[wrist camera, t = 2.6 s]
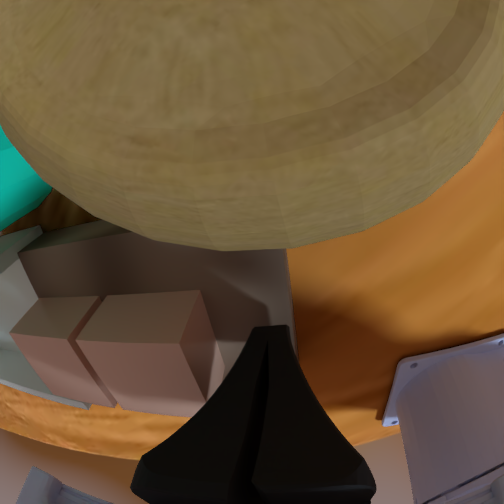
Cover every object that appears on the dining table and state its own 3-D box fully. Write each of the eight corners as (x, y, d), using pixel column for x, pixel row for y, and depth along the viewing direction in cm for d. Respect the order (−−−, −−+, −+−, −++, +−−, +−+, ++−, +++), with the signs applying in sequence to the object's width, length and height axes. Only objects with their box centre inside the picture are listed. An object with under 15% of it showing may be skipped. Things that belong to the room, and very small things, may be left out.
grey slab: (278, 191, 12) (277, 212, 10) (299, 363, 17) (299, 396, 14) (43, 233, 14) (16, 252, 12) (107, 362, 19) (94, 387, 16)
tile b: (99, 295, 12) (66, 339, 10) (135, 364, 15) (114, 407, 12) (39, 298, 13) (8, 332, 11) (75, 358, 15) (53, 394, 13)
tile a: (199, 289, 12) (178, 343, 9) (224, 366, 14) (214, 418, 11) (107, 295, 12) (74, 339, 10) (142, 364, 14) (123, 409, 12)
